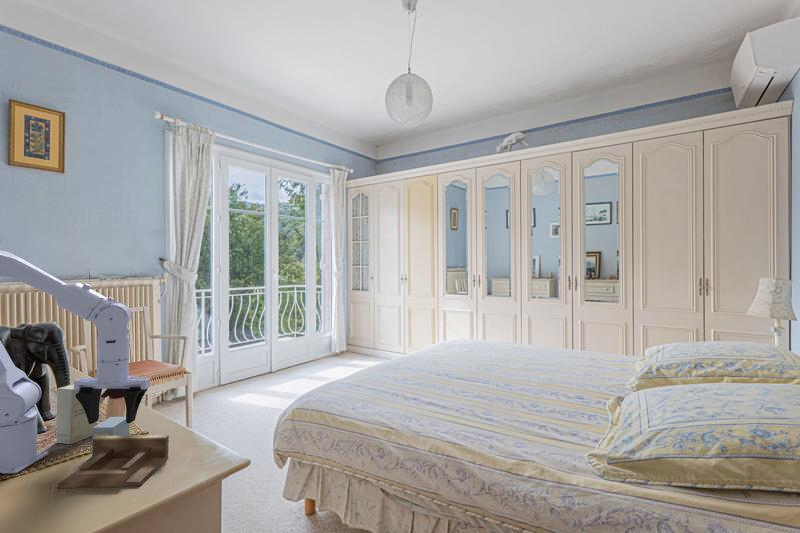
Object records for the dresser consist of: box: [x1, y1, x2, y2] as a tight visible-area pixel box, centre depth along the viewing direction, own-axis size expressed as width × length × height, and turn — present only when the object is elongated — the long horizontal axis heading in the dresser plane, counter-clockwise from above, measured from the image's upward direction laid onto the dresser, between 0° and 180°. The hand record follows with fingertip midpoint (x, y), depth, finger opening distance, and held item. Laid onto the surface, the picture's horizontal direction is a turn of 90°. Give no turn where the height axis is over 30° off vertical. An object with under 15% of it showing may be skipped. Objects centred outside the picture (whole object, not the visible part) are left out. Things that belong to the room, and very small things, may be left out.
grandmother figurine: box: [99, 389, 129, 420], centre depth 101 cm, size 8×4×13 cm, turn 132°
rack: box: [57, 434, 170, 489], centre depth 78 cm, size 14×10×5 cm
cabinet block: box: [91, 416, 131, 457], centre depth 87 cm, size 4×7×6 cm, turn 5°
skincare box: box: [55, 383, 98, 445], centre depth 92 cm, size 6×4×12 cm
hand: (112, 422), depth 87 cm, fingers open, 7 cm apart
